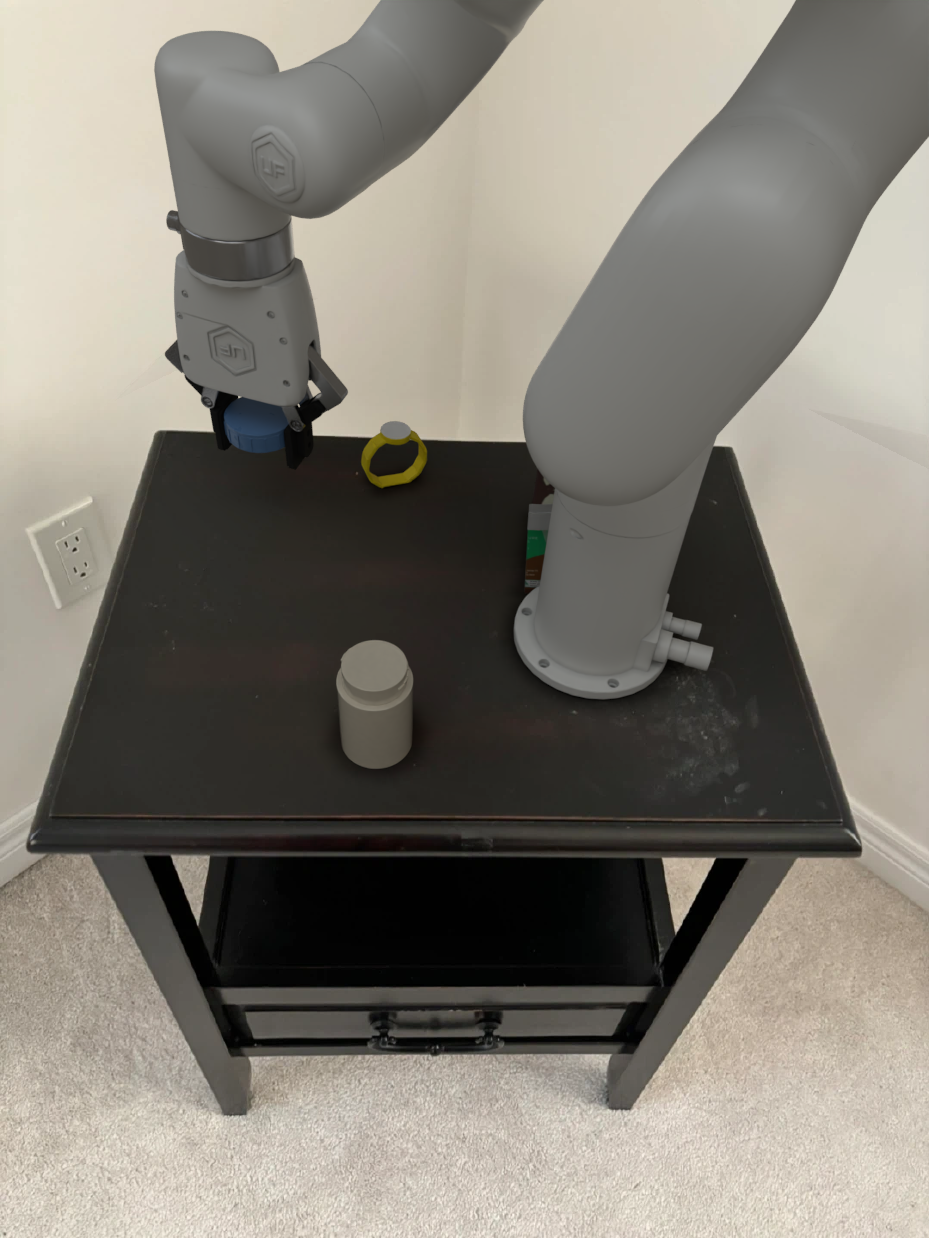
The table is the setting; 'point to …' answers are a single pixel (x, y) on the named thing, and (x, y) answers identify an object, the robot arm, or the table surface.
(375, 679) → the jar
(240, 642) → the table surface
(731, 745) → the table surface
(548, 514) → the food container
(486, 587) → the table surface
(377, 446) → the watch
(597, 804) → the table surface
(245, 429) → the lid
